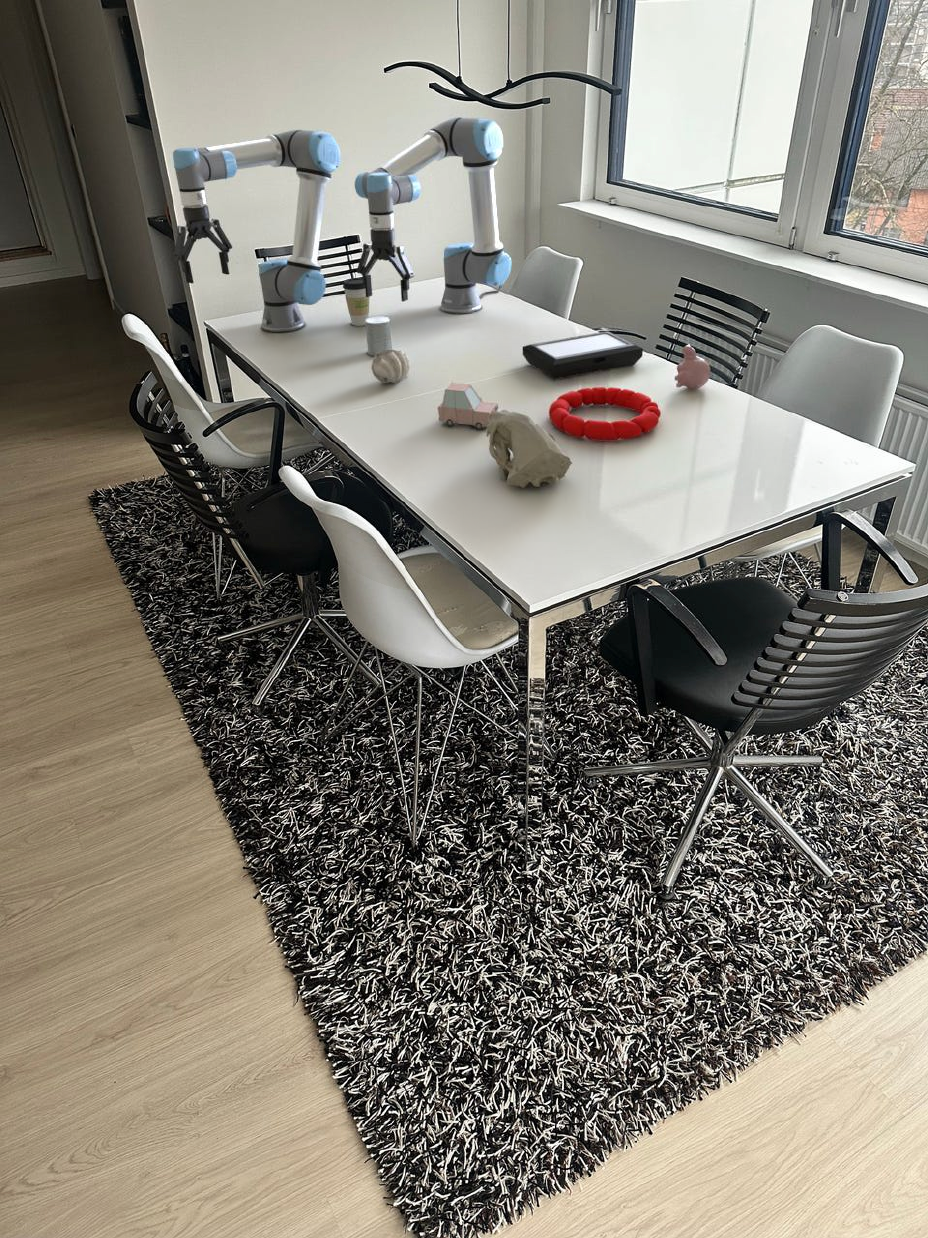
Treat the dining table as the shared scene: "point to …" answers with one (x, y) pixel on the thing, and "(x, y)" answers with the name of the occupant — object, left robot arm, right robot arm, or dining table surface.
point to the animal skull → (525, 450)
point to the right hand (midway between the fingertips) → (386, 298)
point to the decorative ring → (604, 428)
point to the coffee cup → (356, 300)
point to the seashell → (390, 366)
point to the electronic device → (582, 354)
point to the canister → (378, 334)
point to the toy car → (465, 406)
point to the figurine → (692, 370)
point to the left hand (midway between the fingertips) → (208, 278)
